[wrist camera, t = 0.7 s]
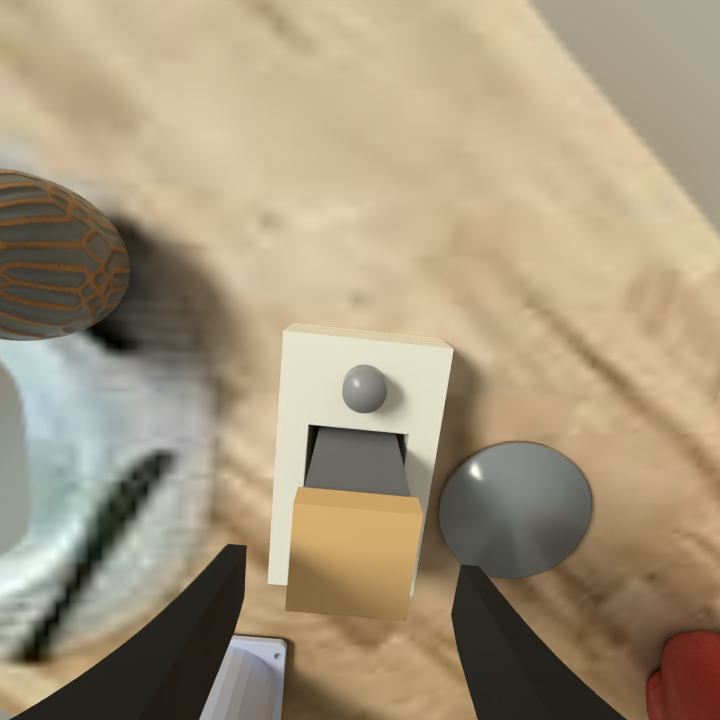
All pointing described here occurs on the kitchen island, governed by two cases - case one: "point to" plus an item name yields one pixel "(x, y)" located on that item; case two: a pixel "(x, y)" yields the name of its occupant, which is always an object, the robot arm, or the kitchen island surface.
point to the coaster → (514, 509)
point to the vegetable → (687, 679)
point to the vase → (55, 260)
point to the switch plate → (355, 409)
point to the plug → (354, 529)
